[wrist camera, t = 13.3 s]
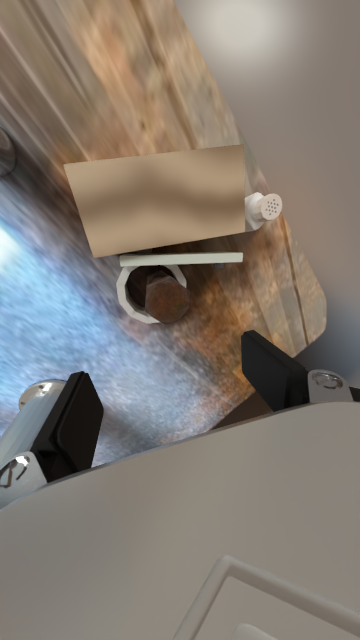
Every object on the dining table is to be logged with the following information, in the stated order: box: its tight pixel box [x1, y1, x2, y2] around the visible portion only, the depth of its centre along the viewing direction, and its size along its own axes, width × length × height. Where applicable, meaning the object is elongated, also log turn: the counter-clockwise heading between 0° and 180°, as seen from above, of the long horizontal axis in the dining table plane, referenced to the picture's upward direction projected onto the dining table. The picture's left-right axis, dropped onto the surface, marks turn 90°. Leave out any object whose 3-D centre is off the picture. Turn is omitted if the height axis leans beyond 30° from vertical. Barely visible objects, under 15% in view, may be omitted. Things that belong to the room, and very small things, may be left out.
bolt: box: [145, 270, 190, 324], centre depth 28 cm, size 6×5×15 cm
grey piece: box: [116, 252, 243, 323], centre depth 29 cm, size 12×18×8 cm, turn 91°
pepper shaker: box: [245, 192, 282, 232], centre depth 29 cm, size 4×4×10 cm
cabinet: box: [63, 144, 245, 312], centre depth 28 cm, size 21×19×12 cm
